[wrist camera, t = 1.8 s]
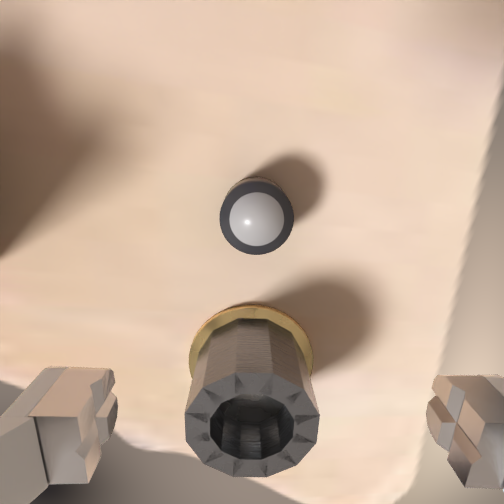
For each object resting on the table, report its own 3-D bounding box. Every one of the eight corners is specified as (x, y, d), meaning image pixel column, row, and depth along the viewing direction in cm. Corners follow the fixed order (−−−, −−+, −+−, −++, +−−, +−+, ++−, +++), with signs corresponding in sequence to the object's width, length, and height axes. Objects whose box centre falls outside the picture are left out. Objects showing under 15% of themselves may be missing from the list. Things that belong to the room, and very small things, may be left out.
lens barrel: (277, 283, 33) (288, 333, 24) (331, 379, 36) (356, 452, 28) (166, 338, 35) (139, 402, 26) (227, 423, 38) (222, 505, 30)
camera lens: (269, 164, 29) (272, 168, 25) (299, 223, 31) (306, 234, 27) (211, 196, 30) (205, 204, 26) (242, 252, 32) (241, 267, 28)
